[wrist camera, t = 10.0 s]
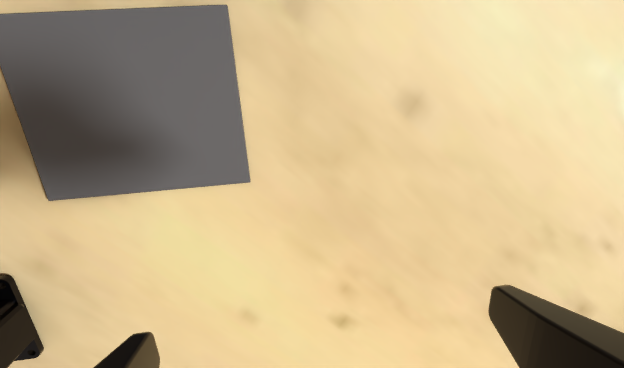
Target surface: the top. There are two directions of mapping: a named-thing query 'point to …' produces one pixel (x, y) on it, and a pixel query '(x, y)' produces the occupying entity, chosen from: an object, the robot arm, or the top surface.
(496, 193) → the top surface
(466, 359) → the top surface
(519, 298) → the robot arm
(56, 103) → the mat
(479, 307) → the top surface
